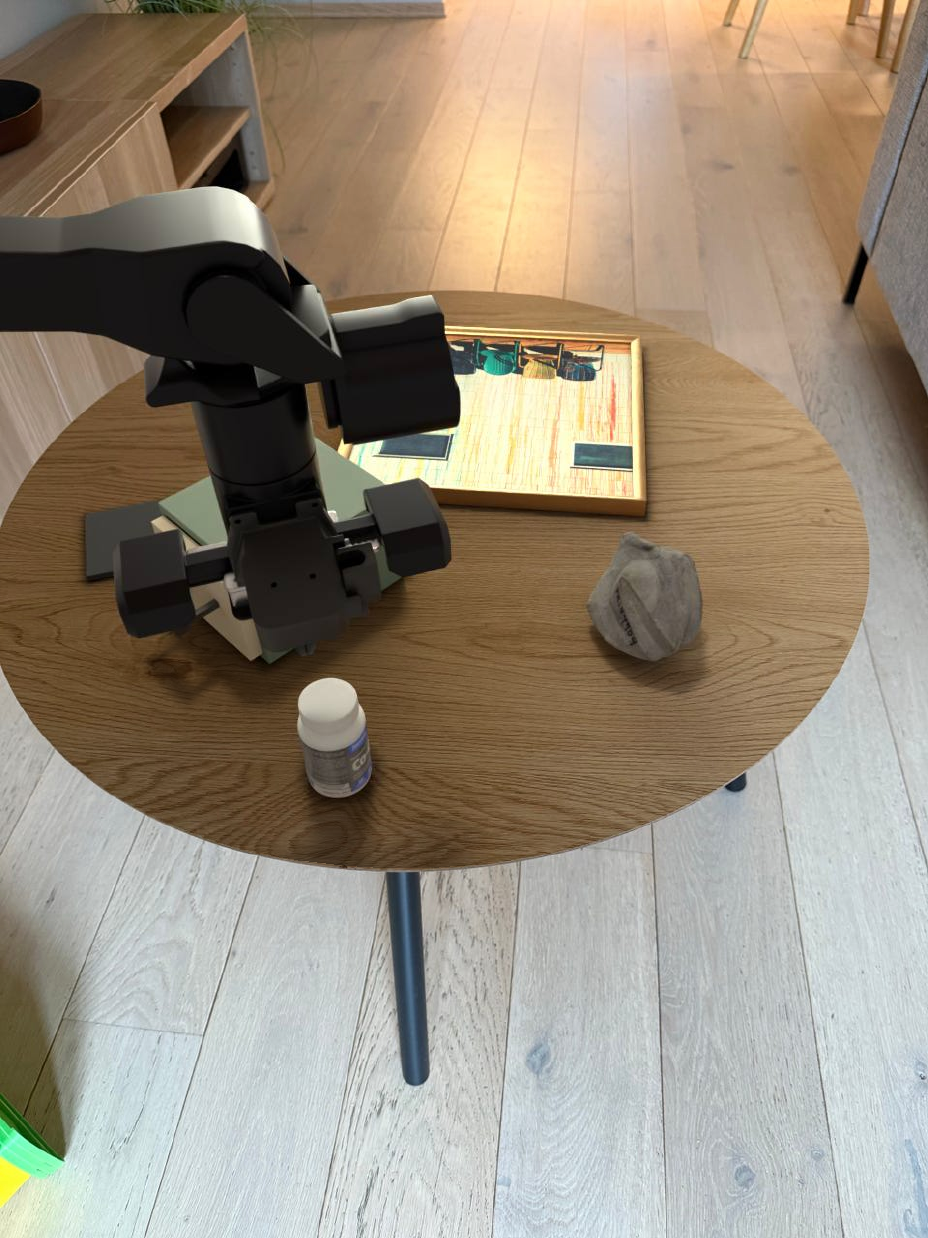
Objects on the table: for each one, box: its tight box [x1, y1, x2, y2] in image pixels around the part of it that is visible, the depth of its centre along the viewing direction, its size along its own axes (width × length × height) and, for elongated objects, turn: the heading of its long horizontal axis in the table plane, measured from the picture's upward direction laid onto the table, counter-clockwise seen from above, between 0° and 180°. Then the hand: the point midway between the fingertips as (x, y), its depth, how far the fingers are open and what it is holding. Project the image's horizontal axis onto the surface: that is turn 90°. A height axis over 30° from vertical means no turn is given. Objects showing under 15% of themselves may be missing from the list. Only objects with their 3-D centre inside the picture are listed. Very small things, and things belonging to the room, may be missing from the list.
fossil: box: [586, 531, 704, 662], centre depth 76 cm, size 11×9×8 cm
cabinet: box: [158, 436, 403, 665], centre depth 80 cm, size 15×13×10 cm
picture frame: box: [337, 325, 648, 517], centre depth 100 cm, size 30×2×30 cm
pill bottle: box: [296, 677, 373, 799], centre depth 66 cm, size 5×5×8 cm
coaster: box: [84, 499, 163, 582], centre depth 87 cm, size 9×9×1 cm
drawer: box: [151, 515, 262, 662], centre depth 78 cm, size 18×11×8 cm, turn 134°
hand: (306, 650), depth 61 cm, fingers closed
